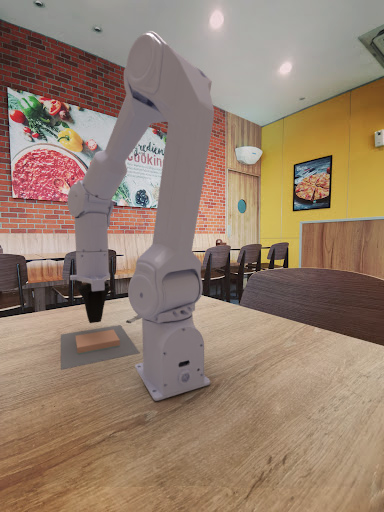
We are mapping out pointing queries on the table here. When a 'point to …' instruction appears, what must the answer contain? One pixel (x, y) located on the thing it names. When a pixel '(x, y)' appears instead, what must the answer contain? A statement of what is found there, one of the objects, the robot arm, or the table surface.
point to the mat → (73, 359)
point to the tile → (96, 341)
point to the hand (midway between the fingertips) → (94, 321)
